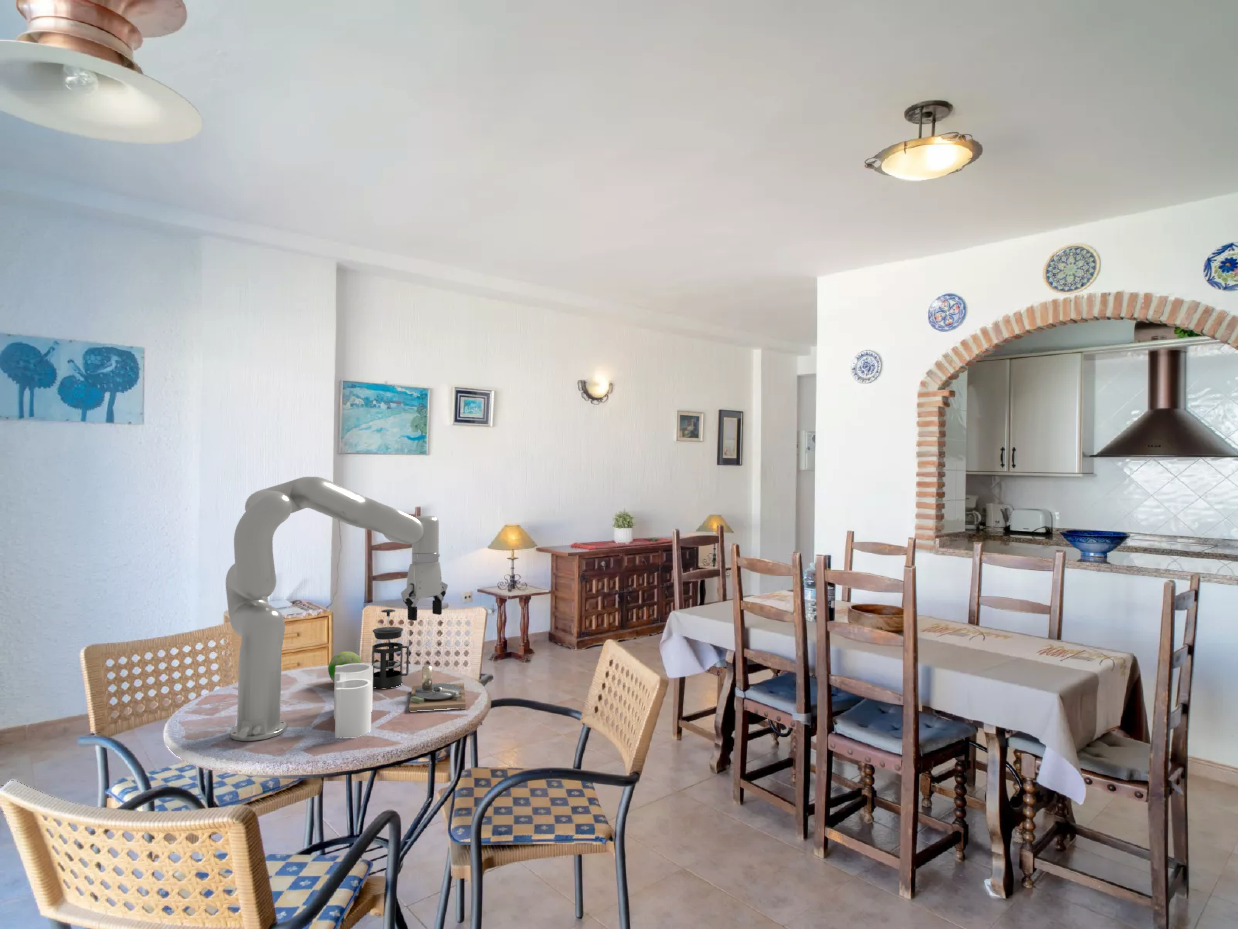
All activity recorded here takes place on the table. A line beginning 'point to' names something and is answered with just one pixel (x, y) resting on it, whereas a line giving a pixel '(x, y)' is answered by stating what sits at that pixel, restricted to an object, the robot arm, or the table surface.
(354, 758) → the table surface
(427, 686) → the dial
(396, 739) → the table surface
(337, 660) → the decorative ball
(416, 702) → the dial board
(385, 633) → the french press
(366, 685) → the white utensil holder
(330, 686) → the table surface
